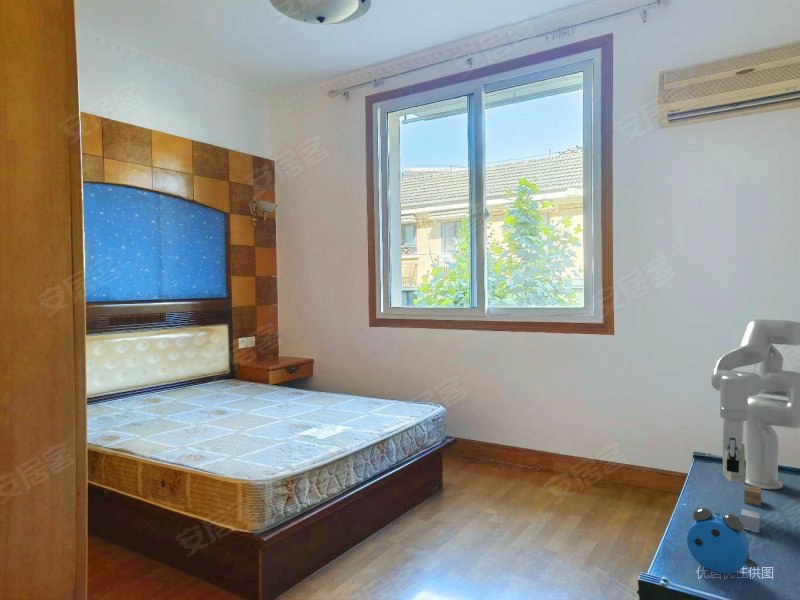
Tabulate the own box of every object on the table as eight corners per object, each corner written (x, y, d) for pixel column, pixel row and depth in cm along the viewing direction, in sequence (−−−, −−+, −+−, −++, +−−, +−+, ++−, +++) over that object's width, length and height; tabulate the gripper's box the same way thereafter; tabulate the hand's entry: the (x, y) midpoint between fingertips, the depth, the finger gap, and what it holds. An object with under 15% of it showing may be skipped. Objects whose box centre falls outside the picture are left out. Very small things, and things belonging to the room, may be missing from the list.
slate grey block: (741, 523, 156) (741, 508, 155) (759, 527, 153) (759, 512, 153) (740, 529, 152) (740, 514, 152) (759, 533, 149) (759, 518, 149)
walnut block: (744, 498, 173) (745, 485, 173) (761, 501, 170) (761, 488, 170) (744, 503, 170) (744, 489, 169) (760, 506, 167) (760, 492, 167)
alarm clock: (749, 572, 129) (750, 514, 129) (745, 583, 124) (746, 523, 124) (691, 555, 138) (691, 500, 137) (686, 564, 133) (686, 508, 132)
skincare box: (745, 483, 161) (745, 445, 160) (730, 482, 161) (730, 444, 161) (736, 475, 167) (736, 439, 166) (721, 474, 168) (721, 438, 167)
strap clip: (726, 550, 140) (726, 535, 140) (737, 550, 140) (737, 535, 140) (747, 568, 132) (747, 552, 132) (759, 568, 132) (759, 551, 132)
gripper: (722, 406, 172) (722, 457, 173) (717, 418, 158) (717, 473, 159) (749, 409, 168) (748, 461, 169) (746, 421, 154) (746, 479, 155)
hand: (733, 467), depth 164 cm, fingers closed on skincare box, 7 cm apart
